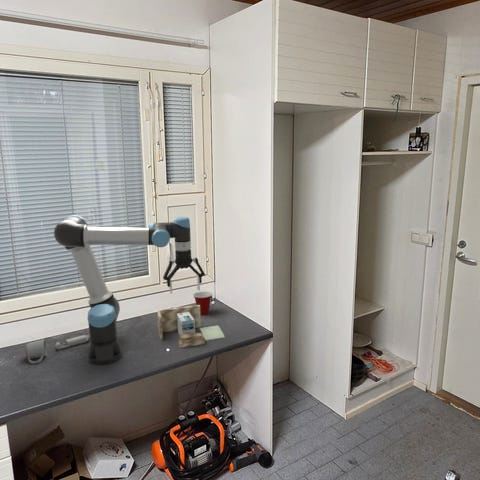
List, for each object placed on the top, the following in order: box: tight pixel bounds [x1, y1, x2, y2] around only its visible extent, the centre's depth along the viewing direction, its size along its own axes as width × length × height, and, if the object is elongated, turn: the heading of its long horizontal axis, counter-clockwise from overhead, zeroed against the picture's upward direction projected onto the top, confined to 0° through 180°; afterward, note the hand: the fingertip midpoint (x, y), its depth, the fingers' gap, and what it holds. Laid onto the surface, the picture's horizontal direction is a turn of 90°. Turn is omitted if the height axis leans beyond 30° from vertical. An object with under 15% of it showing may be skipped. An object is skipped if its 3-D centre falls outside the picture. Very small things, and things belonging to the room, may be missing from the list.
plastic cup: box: [192, 290, 213, 316], centre depth 237 cm, size 11×11×12 cm
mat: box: [199, 325, 226, 342], centre depth 214 cm, size 10×14×1 cm
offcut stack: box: [178, 332, 206, 348], centre depth 202 cm, size 12×4×5 cm, turn 107°
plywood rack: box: [156, 304, 202, 341], centre depth 213 cm, size 22×10×12 cm, turn 107°
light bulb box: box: [177, 312, 196, 336], centre depth 210 cm, size 11×7×11 cm, turn 22°
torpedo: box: [54, 334, 90, 350], centre depth 203 cm, size 18×5×7 cm, turn 126°
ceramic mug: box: [24, 339, 47, 365], centre depth 189 cm, size 11×8×8 cm
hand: (184, 291), depth 205 cm, fingers open, 13 cm apart
